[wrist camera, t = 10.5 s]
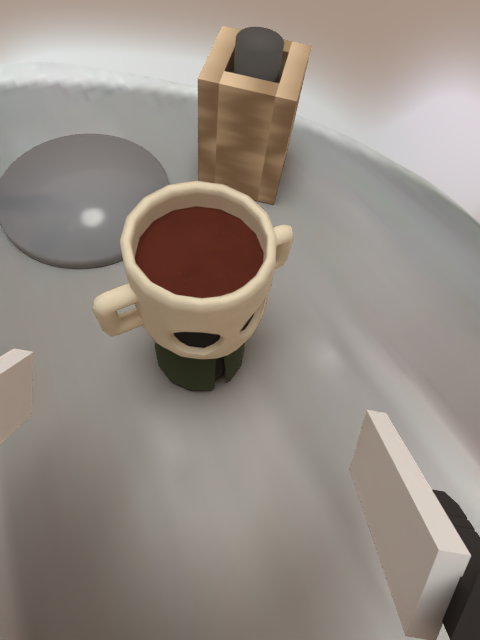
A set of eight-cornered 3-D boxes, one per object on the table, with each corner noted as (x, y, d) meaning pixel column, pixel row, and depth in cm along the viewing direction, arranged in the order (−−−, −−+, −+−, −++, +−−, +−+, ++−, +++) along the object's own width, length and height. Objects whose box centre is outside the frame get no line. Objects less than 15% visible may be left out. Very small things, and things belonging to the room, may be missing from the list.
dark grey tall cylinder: (223, 165, 36) (230, 48, 28) (232, 140, 38) (241, 22, 29) (260, 174, 36) (279, 59, 28) (267, 149, 38) (288, 33, 29)
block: (198, 187, 37) (197, 78, 28) (217, 137, 40) (222, 25, 31) (273, 204, 37) (296, 101, 28) (286, 153, 40) (311, 45, 31)
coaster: (-33, 244, 32) (-41, 235, 31) (47, 130, 39) (42, 119, 37) (139, 287, 32) (137, 278, 31) (190, 164, 38) (189, 154, 37)
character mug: (149, 430, 27) (111, 355, 15) (110, 342, 29) (52, 220, 18) (288, 361, 30) (344, 254, 18) (242, 286, 32) (265, 152, 21)
